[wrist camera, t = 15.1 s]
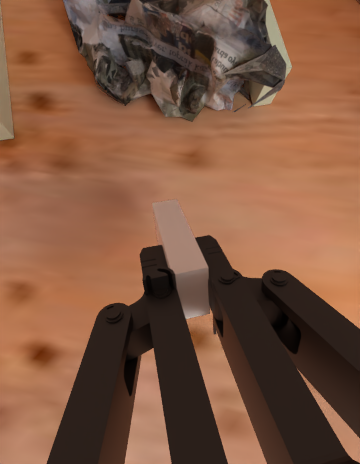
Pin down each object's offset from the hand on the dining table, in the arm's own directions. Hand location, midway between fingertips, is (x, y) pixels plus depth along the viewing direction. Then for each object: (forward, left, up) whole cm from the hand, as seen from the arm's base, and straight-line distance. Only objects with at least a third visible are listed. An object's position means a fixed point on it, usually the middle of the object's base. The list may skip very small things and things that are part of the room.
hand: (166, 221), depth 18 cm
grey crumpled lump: (+14, -3, -4) cm, 15 cm away
